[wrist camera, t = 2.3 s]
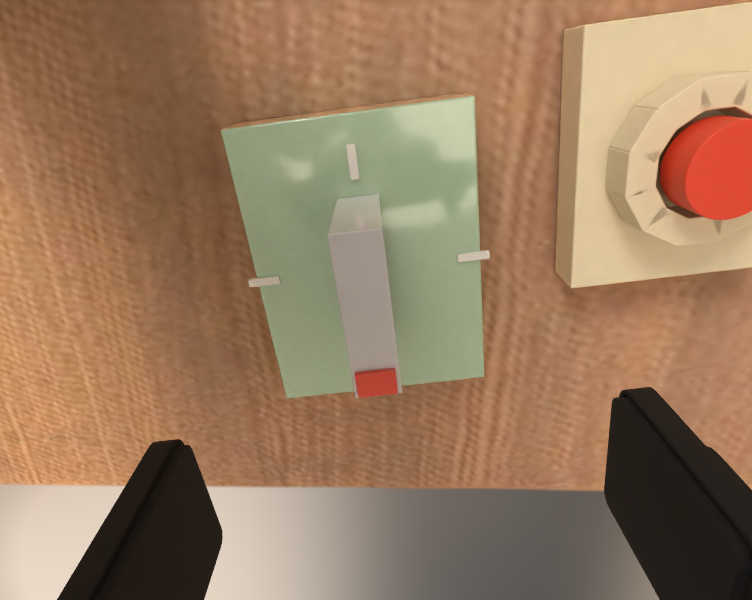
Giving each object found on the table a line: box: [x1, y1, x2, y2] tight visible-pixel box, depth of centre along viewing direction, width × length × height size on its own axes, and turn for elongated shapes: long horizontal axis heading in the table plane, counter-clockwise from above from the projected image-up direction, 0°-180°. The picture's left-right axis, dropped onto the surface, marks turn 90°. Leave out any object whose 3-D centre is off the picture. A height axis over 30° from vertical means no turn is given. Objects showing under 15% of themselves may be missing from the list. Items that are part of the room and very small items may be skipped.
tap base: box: [221, 93, 490, 399], centre depth 23 cm, size 13×11×3 cm
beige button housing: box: [555, 2, 752, 288], centre depth 21 cm, size 11×9×4 cm
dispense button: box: [660, 115, 752, 220], centre depth 18 cm, size 4×4×2 cm
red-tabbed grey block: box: [327, 194, 402, 398], centre depth 19 cm, size 6×2×5 cm, turn 7°
